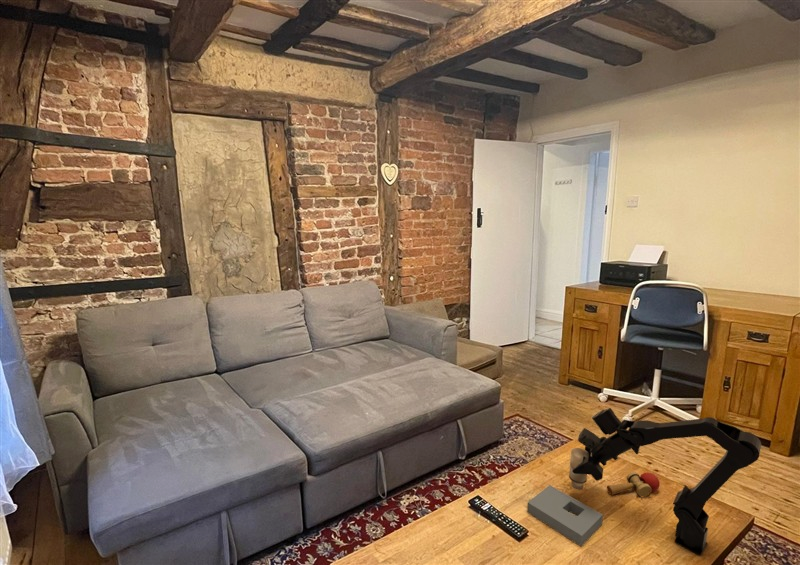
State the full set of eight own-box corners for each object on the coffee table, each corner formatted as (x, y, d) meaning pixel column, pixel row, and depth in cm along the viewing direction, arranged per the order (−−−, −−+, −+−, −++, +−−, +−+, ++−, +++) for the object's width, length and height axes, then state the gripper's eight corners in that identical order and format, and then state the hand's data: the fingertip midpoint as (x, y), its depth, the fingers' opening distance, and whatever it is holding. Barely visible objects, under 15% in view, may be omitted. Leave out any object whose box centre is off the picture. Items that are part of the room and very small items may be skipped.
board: (601, 524, 129) (602, 514, 128) (581, 546, 121) (582, 535, 120) (549, 494, 143) (549, 485, 142) (527, 511, 134) (527, 502, 134)
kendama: (618, 506, 138) (667, 494, 141) (615, 488, 138) (664, 475, 141) (604, 495, 146) (650, 483, 148) (601, 477, 146) (647, 465, 148)
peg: (589, 486, 140) (592, 453, 138) (580, 494, 137) (583, 459, 134) (573, 478, 144) (576, 445, 142) (565, 485, 141) (567, 451, 138)
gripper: (597, 412, 142) (561, 434, 149) (593, 439, 126) (552, 462, 133) (621, 439, 140) (583, 460, 147) (620, 470, 124) (577, 491, 131)
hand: (574, 467), depth 140 cm, fingers closed on peg, 5 cm apart
